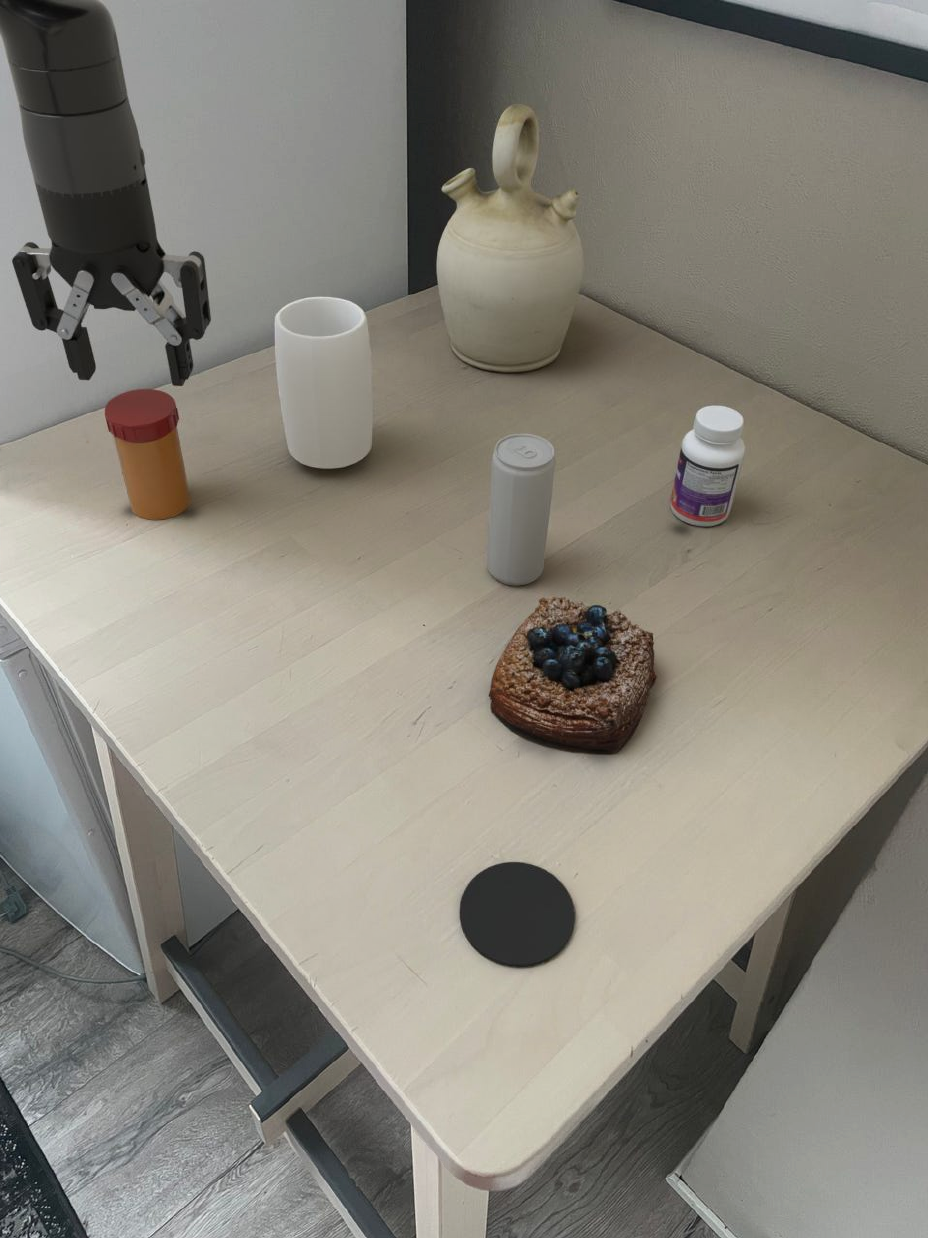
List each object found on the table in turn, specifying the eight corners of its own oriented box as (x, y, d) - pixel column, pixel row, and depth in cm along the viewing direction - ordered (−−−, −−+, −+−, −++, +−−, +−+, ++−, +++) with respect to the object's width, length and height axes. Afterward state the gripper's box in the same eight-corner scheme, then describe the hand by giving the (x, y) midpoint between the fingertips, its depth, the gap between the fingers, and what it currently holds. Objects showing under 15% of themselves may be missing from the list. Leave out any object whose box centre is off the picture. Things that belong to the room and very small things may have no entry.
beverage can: (517, 544, 89) (526, 425, 80) (555, 573, 86) (569, 453, 78) (474, 566, 86) (479, 446, 78) (512, 597, 84) (522, 475, 75)
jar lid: (164, 446, 84) (161, 429, 82) (96, 438, 84) (92, 421, 83) (189, 408, 88) (186, 392, 87) (123, 401, 88) (120, 385, 87)
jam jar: (178, 523, 89) (159, 431, 83) (121, 516, 90) (98, 424, 83) (198, 488, 93) (182, 397, 87) (143, 482, 94) (123, 391, 87)
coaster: (550, 986, 59) (551, 983, 59) (440, 940, 61) (440, 937, 61) (589, 889, 64) (590, 886, 64) (486, 849, 66) (486, 846, 66)
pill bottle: (682, 485, 96) (702, 393, 89) (737, 504, 94) (761, 412, 87) (659, 515, 92) (678, 422, 86) (716, 535, 90) (739, 442, 84)
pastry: (666, 661, 79) (679, 604, 75) (620, 774, 71) (632, 717, 67) (532, 619, 82) (537, 562, 78) (473, 723, 74) (476, 666, 70)
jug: (406, 348, 113) (404, 105, 96) (495, 301, 122) (507, 70, 105) (516, 398, 106) (534, 146, 89) (601, 344, 115) (633, 105, 98)
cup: (381, 434, 100) (377, 297, 91) (367, 485, 94) (361, 344, 85) (296, 427, 101) (282, 290, 91) (276, 477, 95) (259, 336, 85)
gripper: (-35, 183, 69) (30, 397, 81) (176, 194, 69) (211, 408, 80) (8, 144, 75) (63, 350, 86) (204, 154, 74) (233, 360, 86)
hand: (134, 377), depth 83 cm, fingers open, 7 cm apart
